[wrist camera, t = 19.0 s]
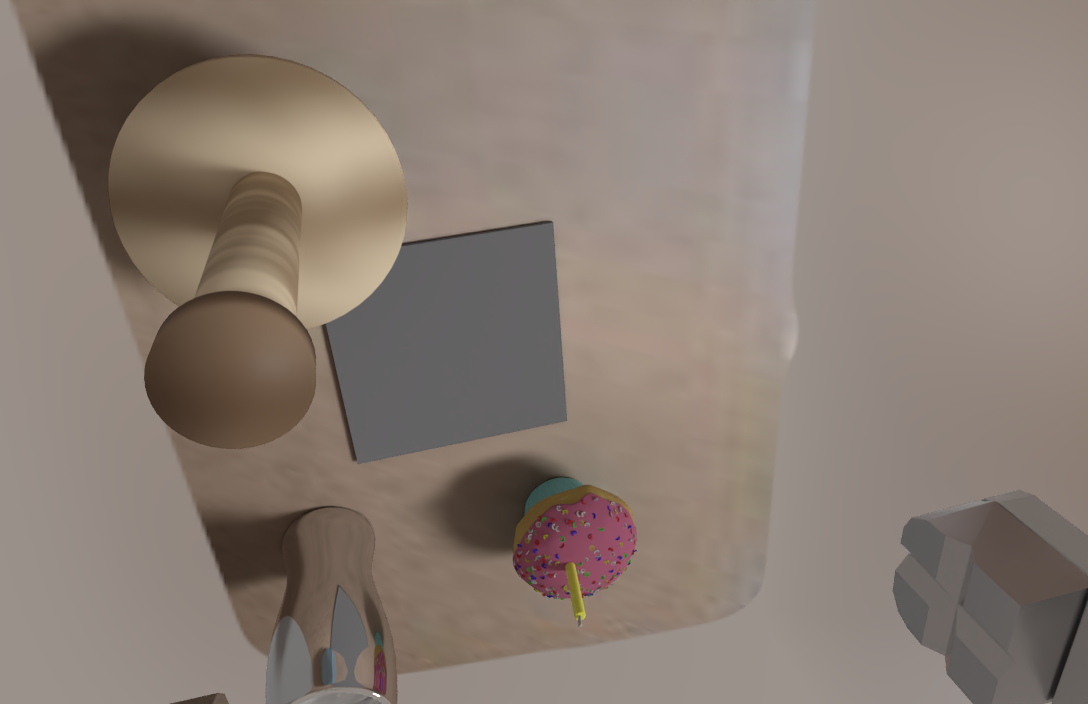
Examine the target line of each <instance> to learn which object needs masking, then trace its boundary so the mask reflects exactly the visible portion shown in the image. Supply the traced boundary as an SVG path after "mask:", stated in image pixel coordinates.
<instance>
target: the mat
mask: <svg viewBox="0 0 1088 704" xmlns="http://www.w3.org/2000/svg"><path fill="white" fill-rule="evenodd" d="M326 327H327V332H328V336H329V340H330V345H331V349H332V354H333V358H334V362H335V367H336V371H337V375H338V380H339V384H340V388H341V393H342V397H343V402H344V406H345V410H346V415H347V419H348V423H349V428H350V432H351V436H352V441H353V445H354V450H355V454H356V458H357V463H358V464H361V463H365V462H370V461H375V460H380V459H385V458H390V457H394V456H399V455H404V454H409V453H414V452H419V451H423V450H428V449H433V448H438V447H443V446H447V445H452V444H457V443H462V442H467V441H472V440H476V439H481V438H486V437H491V436H496V435H501V434H505V433H510V432H515V431H520V430H525V429H529V428H534V427H539V426H544V425H549V424H554V423H558V422H563V421H567V413H566V399H565V385H564V371H563V357H562V342H561V328H560V314H559V300H558V286H557V271H556V257H555V243H554V229H553V222H552V221H550V222H543V223H537V224H531V225H524V226H518V227H512V228H505V229H499V230H492V231H486V232H480V233H473V234H467V235H460V236H454V237H448V238H441V239H435V240H428V241H422V242H416V243H409V244H403V245H401V248H400V251H399V254H398V256H397V258H396V260H395V262H394V264H393V266H392V268H391V270H390V271H389V273H388V274H387V276H386V277H385V279H384V280H383V282H382V283H381V284H380V285H379V286H378V287H377V288H376V290H375V291H374V292H373V293H372V294H371V295H370V296H369V297H368V298H366V299H365V300H364V301H363V302H362V303H361V304H360V305H358V306H357V307H355V308H354V309H352V310H351V311H349V312H348V313H346V314H345V315H343V316H341V317H339V318H337V319H335V320H333V321H331V322H328V323H326Z"/></svg>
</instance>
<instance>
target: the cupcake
mask: <svg viewBox="0 0 1088 704" xmlns="http://www.w3.org/2000/svg"><path fill="white" fill-rule="evenodd" d="M636 539H637V532H636V527H635V525H634V518H633V514H632V512H631V509H630V508H629V506H628V505H627V504H626V503H625V502H624V501H623V500H621V499H620V498H618V497H617V496H615V495H613V494H611V493H609V492H607V491H604V490H602V489H599V488H596V487H594V486H591V485H583V484H582V483H580V482H579V481H577V480H575V479H571V478H564V477H562V478H555V479H551V480H548V481H546V482H544V483H542V484H541V485H539V486H538V487H537V488H536V489H535V490H534V491H533V492H532V493H531V494H530V496H529V497H528V499H527V502H526V505H525V516H524V517H523V518H522V520H521V521H520V522H519V523H518V524H517V527H516V530H515V539H514V545H513V553H514V555H513V565H514V568H515V570H516V572H517V574H518V575H519V577H521V578H522V579H523V580H524V581H526V582H527V583H528V584H529V585H531V586H532V587H533V588H534V590H535V591H536V592H538V591H539V592H541V593H542V595H543V596H546V595H547V597H549V598H550V597H553V598H555V599H561V600H562V599H564V598H571V601H572V606H573V611H574V616H575V619H576V620H578V623H579V625H578V627H579V628H580V627H581V626H582V621H581V620H583V619H584V618H585V610H584V606H583V601H582V598H583V596H586V595H587V596H591V595H593V594H592V593H596V592H598V591H600V590H603V589H606V588H608V586H609V585H612V584H613V583H612V582H613V581H614V580H616V579H617V578H618V577H619V576H620V575H621V574H622V572H623V571H625V570H626V569H627V565H629V564H630V561H631V559H632V556H633V554H634V552H635V551H637V550H635V546H636ZM634 550H635V551H634Z"/></svg>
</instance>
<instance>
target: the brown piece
mask: <svg viewBox="0 0 1088 704" xmlns="http://www.w3.org/2000/svg"><path fill="white" fill-rule="evenodd" d="M108 194H109V202H110V210H111V213H112V217H113V221H114V224H115V228H116V230H117V233H118V235H119V237H120V240H121V242H122V244H123V246H124V248H125V250H126V251H127V253H128V255H129V256H130V258H131V260H132V262H133V263H134V264H135V266H136V267H137V268H138V269H139V271H140V272H141V273H142V275H143V276H144V277H145V278H146V279H147V280H148V281H149V282H150V283H151V284H152V285H153V286H154V287H155V288H156V289H157V290H158V291H159V292H160V293H161V294H163V295H164V296H165V297H166V298H168V299H169V300H170V301H171V302H173V303H174V304H176V305H177V306H179V307H178V308H177V309H176V310H175V311H173V312H172V313H171V314H170V315H169V316H168V318H167V319H166V320H165V321H164V322H163V324H162V326H161V327H160V329H159V331H158V333H157V335H156V338H155V340H154V343H153V345H152V348H151V350H150V352H149V355H148V357H147V361H146V365H145V374H144V380H145V388H146V391H147V395H148V398H149V400H150V402H151V405H152V406H153V408H154V410H155V411H156V413H157V414H158V415H159V416H160V418H161V419H162V420H163V421H164V422H165V423H166V424H167V425H168V426H169V427H170V428H172V429H173V430H174V431H176V432H177V433H179V434H180V435H182V436H184V437H186V438H188V439H190V440H192V441H195V442H197V443H200V444H203V445H207V446H211V447H216V448H225V449H242V448H249V447H255V446H258V445H262V444H265V443H268V442H271V441H273V440H275V439H277V438H279V437H281V436H282V435H284V434H285V433H287V432H288V431H290V430H291V429H292V428H293V427H294V426H296V425H297V424H298V423H299V421H300V420H301V419H302V418H303V417H304V415H305V414H306V412H307V411H308V409H309V407H310V405H311V403H312V400H313V397H314V394H315V387H316V355H315V349H314V345H313V342H312V339H311V337H310V335H309V333H308V331H307V330H306V329H310V328H314V327H317V326H320V325H323V324H325V323H328V322H331V321H333V320H335V319H337V318H339V317H341V316H343V315H345V314H346V313H348V312H349V311H351V310H352V309H354V308H355V307H357V306H358V305H360V304H361V303H362V302H363V301H364V300H365V299H366V298H368V297H369V296H370V295H371V294H372V293H373V292H374V291H375V290H376V288H377V287H378V286H379V285H380V284H381V283H382V282H383V280H384V279H385V277H386V276H387V274H388V273H389V271H390V270H391V268H392V266H393V264H394V262H395V260H396V258H397V256H398V254H399V251H400V248H401V245H402V242H403V239H404V234H405V229H406V224H407V209H408V202H407V190H406V184H405V179H404V175H403V171H402V167H401V165H400V162H399V159H398V157H397V154H396V151H395V149H394V147H393V145H392V143H391V141H390V139H389V137H388V135H387V133H386V131H385V130H384V128H383V127H382V125H381V124H380V123H379V121H378V120H377V118H376V117H375V115H374V114H373V113H372V112H371V111H370V110H369V109H368V108H367V107H366V105H365V104H364V103H363V102H362V101H361V100H360V99H358V98H357V97H356V96H355V95H354V94H353V93H352V92H350V91H349V90H348V89H347V88H346V87H344V86H343V85H341V84H340V83H338V82H337V81H335V80H334V79H332V78H331V77H329V76H327V75H325V74H323V73H321V72H319V71H317V70H315V69H313V68H311V67H308V66H305V65H303V64H300V63H297V62H294V61H291V60H286V59H282V58H278V57H273V56H264V55H253V54H249V55H229V56H223V57H218V58H212V59H208V60H205V61H202V62H199V63H196V64H193V65H190V66H188V67H186V68H184V69H182V70H180V71H178V72H176V73H174V74H173V75H171V76H170V77H168V78H167V79H165V80H164V81H162V82H161V83H160V84H158V85H157V86H156V87H155V88H154V89H152V90H151V91H150V92H149V93H148V94H147V95H146V96H145V97H144V98H143V99H142V100H141V101H140V102H139V103H138V104H137V106H136V107H135V108H134V110H133V111H132V112H131V113H130V115H129V116H128V117H127V119H126V121H125V123H124V125H123V127H122V128H121V130H120V132H119V134H118V137H117V140H116V142H115V145H114V148H113V151H112V155H111V161H110V166H109V174H108Z"/></svg>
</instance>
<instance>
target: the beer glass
mask: <svg viewBox="0 0 1088 704" xmlns="http://www.w3.org/2000/svg"><path fill="white" fill-rule="evenodd" d="M374 551H375V534H374V531H373V529H372V527H371V525H370V523H369V522H368V521H367V520H366V519H365V518H364V517H363V516H361V515H360V514H358V513H356V512H354V511H352V510H349V509H345V508H339V507H327V508H320V509H316V510H313V511H310V512H308V513H306V514H304V515H302V516H301V517H299V518H298V519H296V520H295V521H294V522H293V523H292V524H291V525H290V526H289V528H288V529H287V531H286V533H285V535H284V538H283V541H282V557H283V562H284V566H285V570H286V576H287V583H286V589H285V593H284V597H283V600H282V603H281V607H280V610H279V613H278V616H277V620H276V623H275V627H274V630H273V634H272V638H271V643H270V647H269V652H268V661H267V670H266V692H265V694H266V695H265V698H266V704H398V703H397V702H398V698H397V697H398V694H397V692H398V691H397V668H396V656H395V650H394V644H393V638H392V634H391V630H390V627H389V623H388V619H387V616H386V614H385V611H384V608H383V605H382V602H381V600H380V597H379V594H378V592H377V589H376V586H375V583H374V580H373V575H372V562H373V557H374Z"/></svg>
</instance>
